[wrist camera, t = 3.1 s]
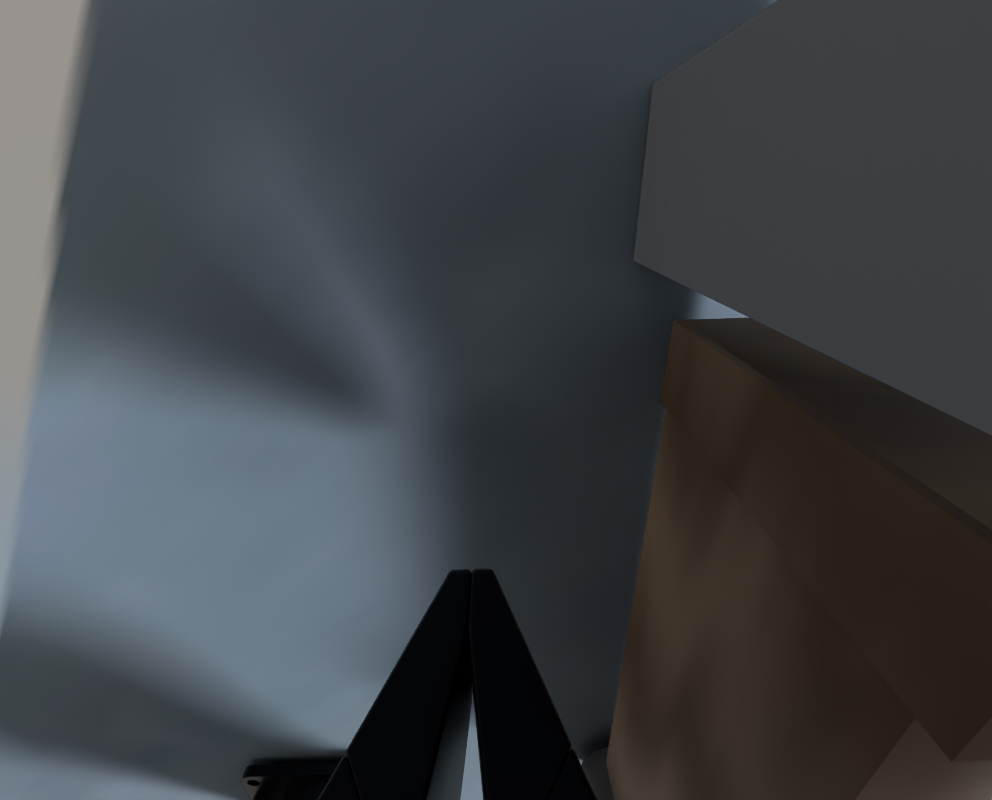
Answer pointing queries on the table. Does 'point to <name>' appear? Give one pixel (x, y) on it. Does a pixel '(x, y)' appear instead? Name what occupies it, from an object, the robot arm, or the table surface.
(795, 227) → the post
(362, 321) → the table surface
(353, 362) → the table surface
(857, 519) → the gate
